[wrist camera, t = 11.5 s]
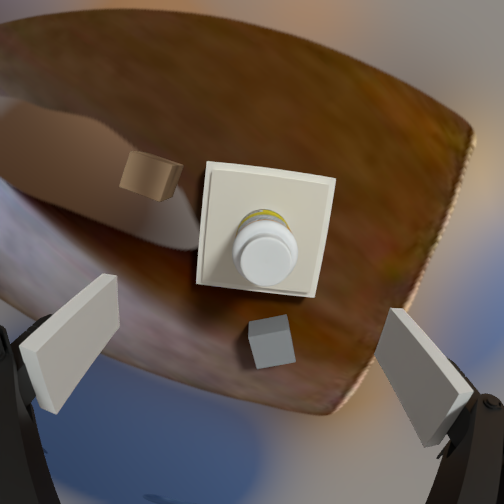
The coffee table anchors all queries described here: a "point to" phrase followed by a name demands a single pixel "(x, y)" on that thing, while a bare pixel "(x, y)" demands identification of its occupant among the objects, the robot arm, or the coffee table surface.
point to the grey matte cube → (271, 341)
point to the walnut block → (150, 175)
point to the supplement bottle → (264, 248)
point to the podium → (254, 198)
